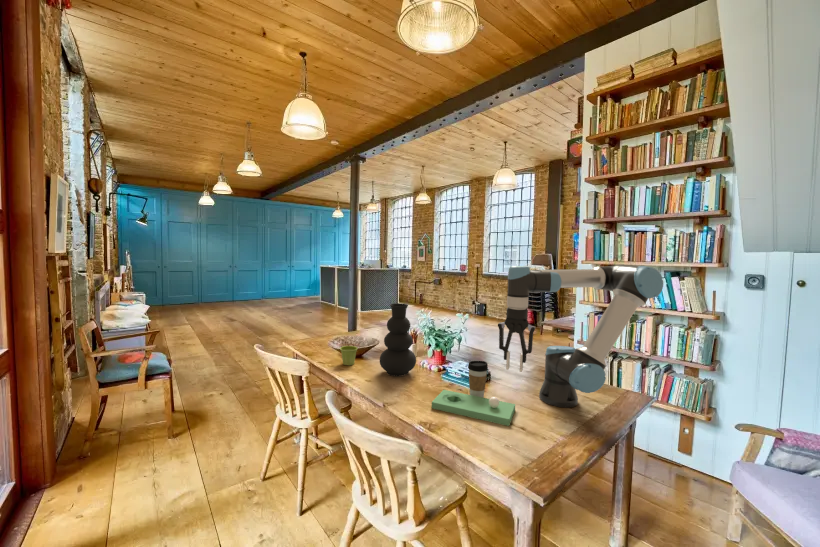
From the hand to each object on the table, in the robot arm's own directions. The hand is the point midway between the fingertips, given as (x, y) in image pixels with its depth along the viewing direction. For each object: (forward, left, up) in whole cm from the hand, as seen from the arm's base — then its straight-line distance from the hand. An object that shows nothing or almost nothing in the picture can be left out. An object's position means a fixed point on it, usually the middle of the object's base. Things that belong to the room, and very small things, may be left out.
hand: (514, 369), depth 130 cm
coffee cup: (+17, -13, -19) cm, 28 cm away
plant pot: (+90, -21, -19) cm, 94 cm away
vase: (+60, -21, -19) cm, 66 cm away
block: (+15, 0, -19) cm, 24 cm away
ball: (+7, 0, -14) cm, 16 cm away
